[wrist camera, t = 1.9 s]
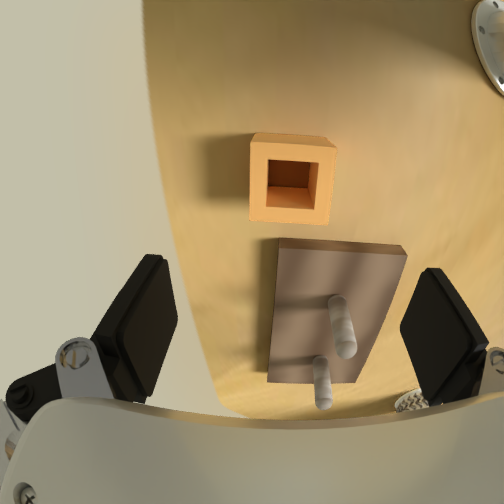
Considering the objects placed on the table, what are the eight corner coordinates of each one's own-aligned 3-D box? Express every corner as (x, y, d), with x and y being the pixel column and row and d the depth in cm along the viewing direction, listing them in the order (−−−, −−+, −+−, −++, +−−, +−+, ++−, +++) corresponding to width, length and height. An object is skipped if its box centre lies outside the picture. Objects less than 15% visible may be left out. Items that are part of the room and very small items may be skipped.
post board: (400, 245, 27) (437, 305, 19) (353, 372, 38) (361, 426, 30) (279, 237, 28) (278, 302, 20) (267, 371, 39) (264, 428, 31)
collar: (325, 137, 22) (337, 148, 18) (319, 201, 26) (327, 225, 21) (255, 133, 23) (250, 142, 19) (254, 197, 26) (249, 220, 22)
